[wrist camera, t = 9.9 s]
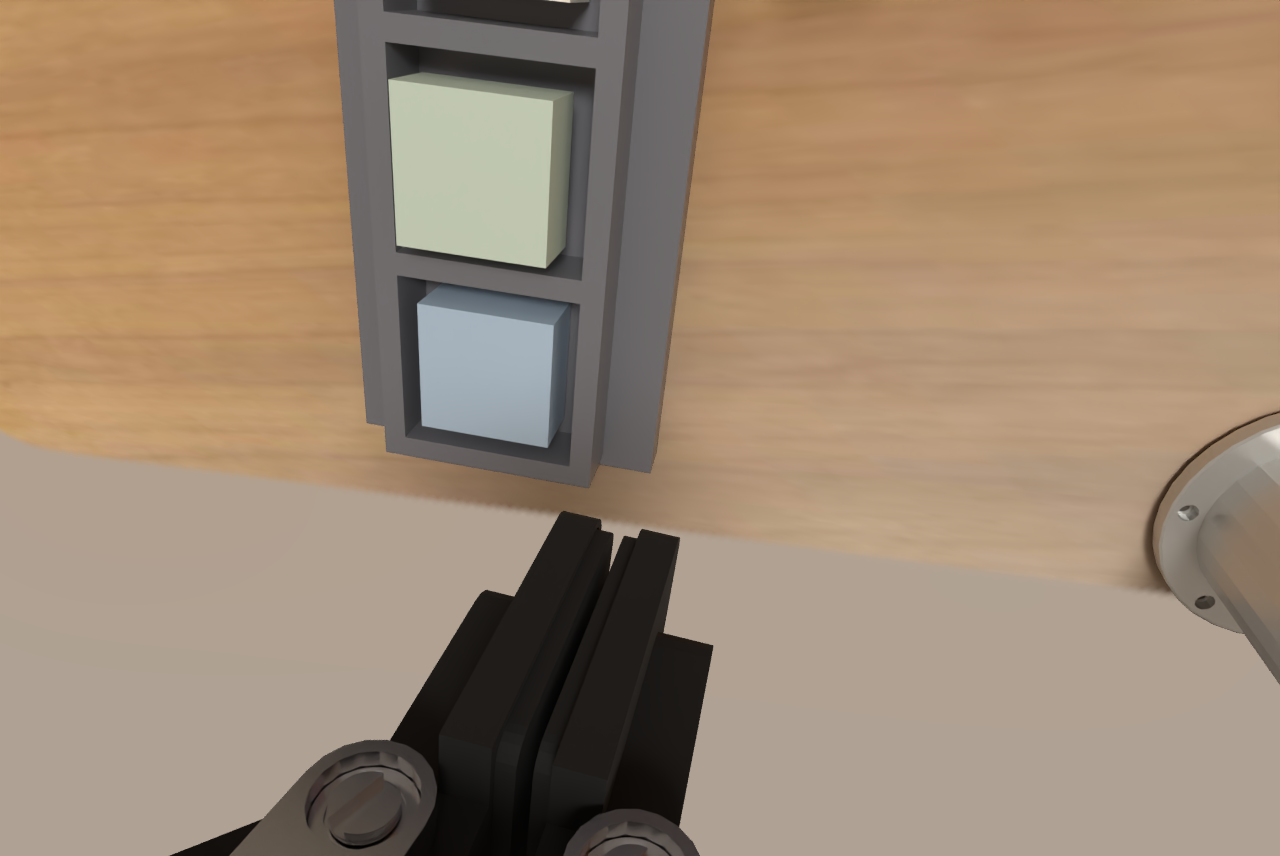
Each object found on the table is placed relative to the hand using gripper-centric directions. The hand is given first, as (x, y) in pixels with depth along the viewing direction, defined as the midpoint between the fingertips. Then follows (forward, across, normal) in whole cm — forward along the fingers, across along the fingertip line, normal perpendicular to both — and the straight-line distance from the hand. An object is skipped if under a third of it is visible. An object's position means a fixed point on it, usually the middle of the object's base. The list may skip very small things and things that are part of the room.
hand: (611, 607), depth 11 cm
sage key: (+23, +11, -1) cm, 25 cm away
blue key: (+25, +10, +8) cm, 28 cm away
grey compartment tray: (+27, +11, -1) cm, 29 cm away
